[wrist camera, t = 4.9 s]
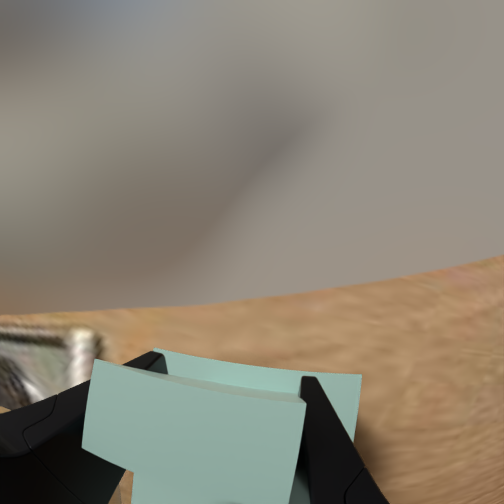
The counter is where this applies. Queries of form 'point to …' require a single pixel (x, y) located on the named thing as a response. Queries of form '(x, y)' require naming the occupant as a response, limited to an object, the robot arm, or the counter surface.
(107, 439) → the lid
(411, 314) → the counter surface
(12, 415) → the robot arm
